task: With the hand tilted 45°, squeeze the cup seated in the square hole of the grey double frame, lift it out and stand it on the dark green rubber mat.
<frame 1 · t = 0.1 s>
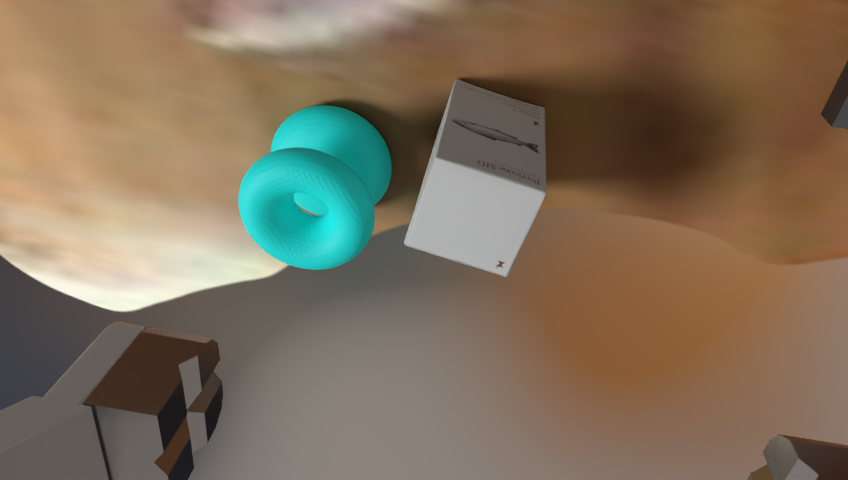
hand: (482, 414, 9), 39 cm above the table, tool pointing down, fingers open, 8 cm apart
supplement box: (485, 130, 49), on the table
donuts: (336, 154, 53), on the table
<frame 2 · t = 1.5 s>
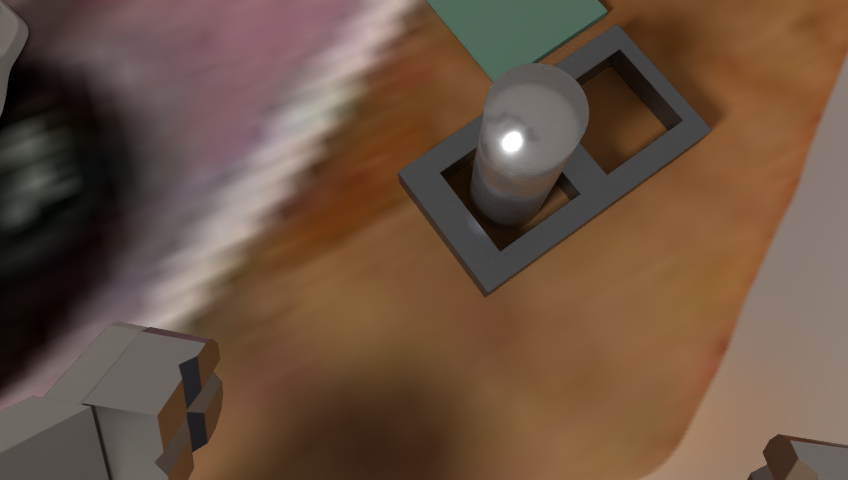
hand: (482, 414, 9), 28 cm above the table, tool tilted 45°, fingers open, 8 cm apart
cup: (505, 193, 39), resting in grey double frame
grey double frame: (549, 162, 40), on the table
mat: (511, 3, 42), on the table
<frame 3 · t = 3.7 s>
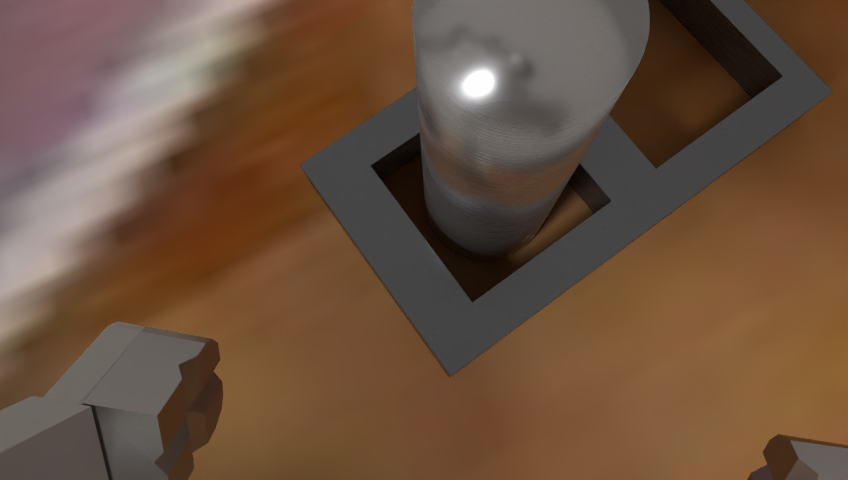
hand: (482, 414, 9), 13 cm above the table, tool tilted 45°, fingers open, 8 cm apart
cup: (485, 200, 24), resting in grey double frame
grey double frame: (557, 149, 24), on the table
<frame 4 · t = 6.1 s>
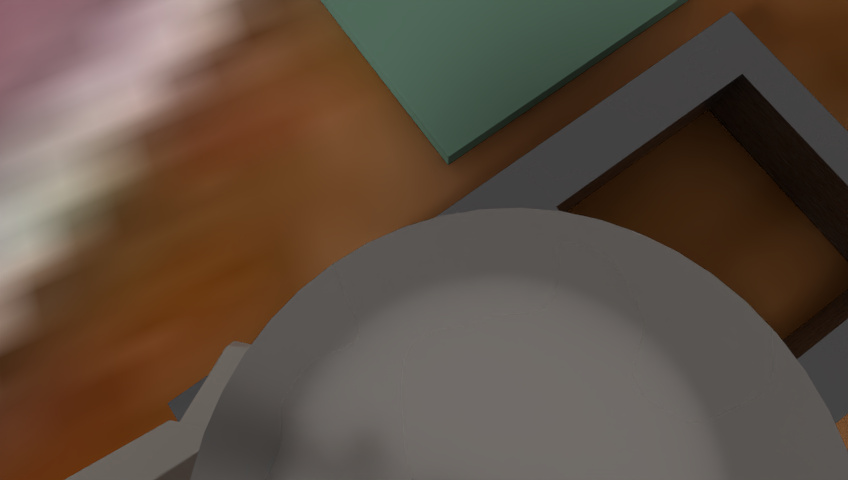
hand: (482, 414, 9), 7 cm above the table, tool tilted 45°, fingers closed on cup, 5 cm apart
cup: (460, 432, 16), resting in grey double frame, touching gripper
grey double frame: (568, 351, 16), on the table
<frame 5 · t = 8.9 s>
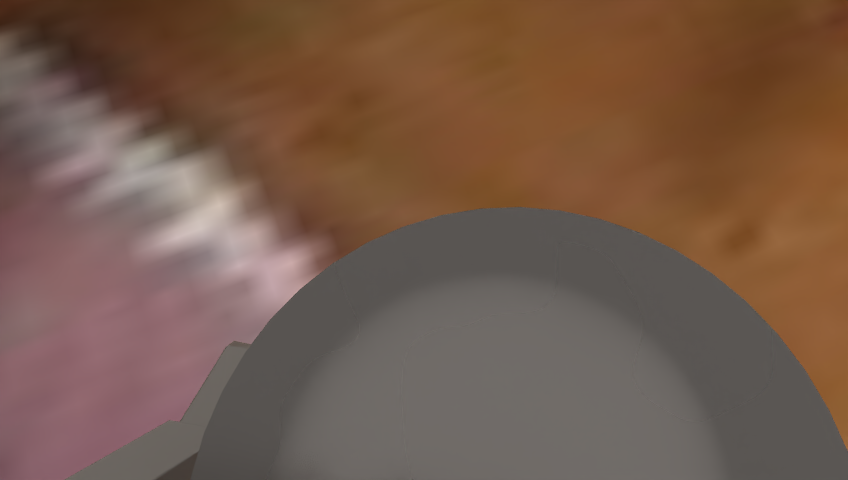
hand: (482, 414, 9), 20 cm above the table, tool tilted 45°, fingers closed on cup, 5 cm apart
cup: (460, 432, 16), point 13 cm above the table, touching gripper
when the fingers open (9 cm above the table, at t = 11.5 s): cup drops 1 cm, resting on mat.
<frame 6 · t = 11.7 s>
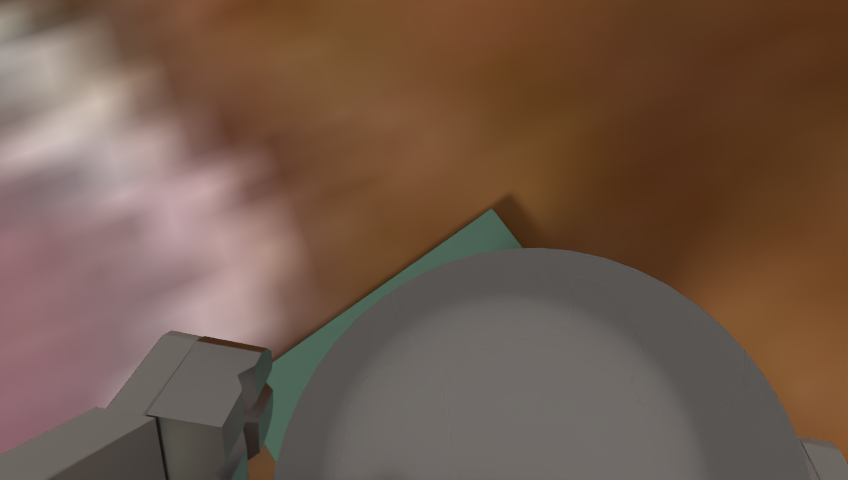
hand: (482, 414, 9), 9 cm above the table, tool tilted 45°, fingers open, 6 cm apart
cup: (457, 429, 17), point 1 cm above the table, touching mat
mat: (458, 429, 18), on the table
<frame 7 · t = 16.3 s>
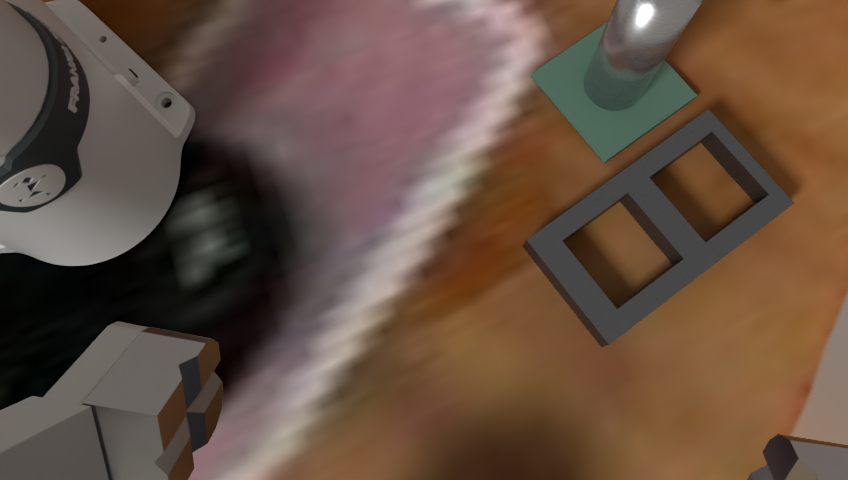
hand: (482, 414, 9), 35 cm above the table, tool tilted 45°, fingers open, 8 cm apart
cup: (613, 83, 48), point 1 cm above the table, touching mat
grey double frame: (651, 228, 46), on the table
mat: (612, 87, 49), on the table
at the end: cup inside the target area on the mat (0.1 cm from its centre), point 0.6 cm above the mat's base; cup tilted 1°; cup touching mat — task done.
